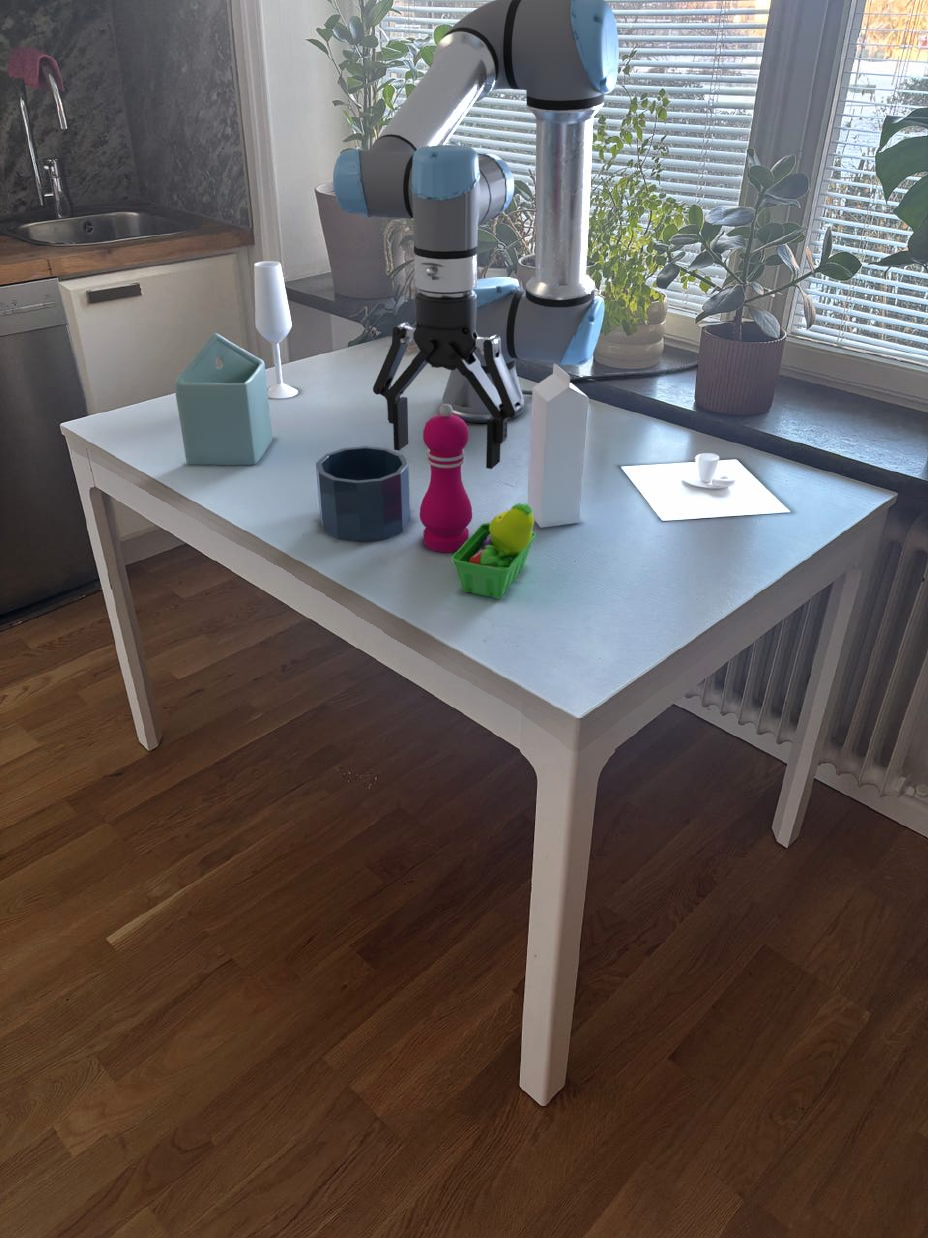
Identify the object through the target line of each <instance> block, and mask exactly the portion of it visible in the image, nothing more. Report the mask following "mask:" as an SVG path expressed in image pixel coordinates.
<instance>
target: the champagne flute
mask: <svg viewBox="0 0 928 1238" xmlns="http://www.w3.org/2000/svg"><path fill="white" fill-rule="evenodd" d="M253 268H254V269H253V271H254V273H253V274H254V278H253V279H254V316H255V318H254V319H255V321H254V323H255V325H254V326H255V328H256V331H257V332H258V333H259V334H260V336H262V338H264V339H265V340H266V341H268V342H269V343H271V344H272V352H273V362H274V370H275V372H274V373H275V382H276V383H275V384H273V385H272V386H270V387H269V388H267V390H268V399H269V398H270V399H289V398H292V397H294V396H296V395H297V394H298V393H299V390H297V389H296V388H294V387H292V386H290V385H288V384H286V383H284V382H283V371H282V362H281V352H280V343H281V342H283V340H285V338H286V337H287V336H288V335H289V333H290V332H291V329H292V326H293V323H292V317H291V312H290V307H289V306H290V305H289V302H288V301H289V300H288V295H287V290H286V285H285V280H284V279H285V278H284V274H283V269H282V264H281V262H279V261H276V260H275V261H273V260H268V261H267V260H265V261H259V262H255V263H254V265H253Z"/></svg>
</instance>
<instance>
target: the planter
mask: <svg viewBox="0 0 928 1238" xmlns="http://www.w3.org/2000/svg"><path fill="white" fill-rule="evenodd" d="M218 356H219V361H221V365H220V366H219V367H217V362H218ZM267 381H268V380H267V372H266V365H265V361H264V360H263V359H261V358H259V357H258V356H255V355H254V354H252V353H250V352H248V351H247V350H245V349H244V348H242V347H240V346H238V345H237V344H235V343H233V342H231V341H229V339H227V338H225V337H224V336H222V335H220V334H219V333H217V332H214V333H212V335H211V336H210V337H209V338H208V340H207V341H206V343H205V344H204V345H203V346H202V348H201V349H200V350H199V351H198V353H197V354H196V355H194V357H193V358H192V359H191V361H190V362H189V363H188V364H187V366H185V368H184V369H183V370H182V372H181V373H180V374H179V376H178V377H177V378H176V379H175V380H174V383H173V387H174V392H175V400H176V406H177V412H178V418H179V424H180V431H181V437H182V442H183V448H184V456H185V462H186V464H187V465H191V466H192V465H195V466H197V465H199V466H256V465H257V463H259V461H260V460H261V459H262V458H263V456H264V454H265V453H266V452H267V450H268V448H269V446H270V445H271V443H272V442H273V439H274V437H273V430H272V429H273V428H272V427H273V426H272V420H271V411H270V409H271V408H270V399H269V397H268V390H267V389H268V382H267Z"/></svg>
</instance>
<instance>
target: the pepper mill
mask: <svg viewBox="0 0 928 1238" xmlns="http://www.w3.org/2000/svg"><path fill="white" fill-rule="evenodd" d="M452 412H453V409H452V407H451V405H449V404H442V403H441V405H440V406H439V407H438V413H439V414H435V415H433V416H432V417H430V418H429V419H428V420H427V421H426V423H425V424H424V427H423V430H422V438H423V439H422V440H423V443H424V445H425V446H426V448H427V451H426V455H427V458H426V460H427V463H428V464H429V465H430V479H429V485H428V488H427V490H426V492H425V494H424V496H423V498H422V501H421V504H420V508H419V519H420V522H421V524H422V525H423V526H424V529H423V544H424V546H425V547H426V548H428V549H429V550H431V551H433V552H439V553H454V552H455V553H456V552H457V551H458V550H459V549H460V548H461V546H462V545H463V544H464V543H465V542H466V541H467V540H468V539H469V538H470V536H469V535H470V533H469V529H468V528H467V527H468V526H469V525H470V523H471V522H472V519H473V507H472V504H471V500H470V498H469V496H468V492H467V491H466V489H465V486H464V483H463V480H462V479H463V478H462V465H463V464H465V461H466V458H465V455H466V451H465V449H464V448H465V447H466V446H467V444H468V443H469V438H470V432H469V428H468V425H467V423H466V421H463V419H461V418H460V417H458V416H456V415H453V414H452Z"/></svg>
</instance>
